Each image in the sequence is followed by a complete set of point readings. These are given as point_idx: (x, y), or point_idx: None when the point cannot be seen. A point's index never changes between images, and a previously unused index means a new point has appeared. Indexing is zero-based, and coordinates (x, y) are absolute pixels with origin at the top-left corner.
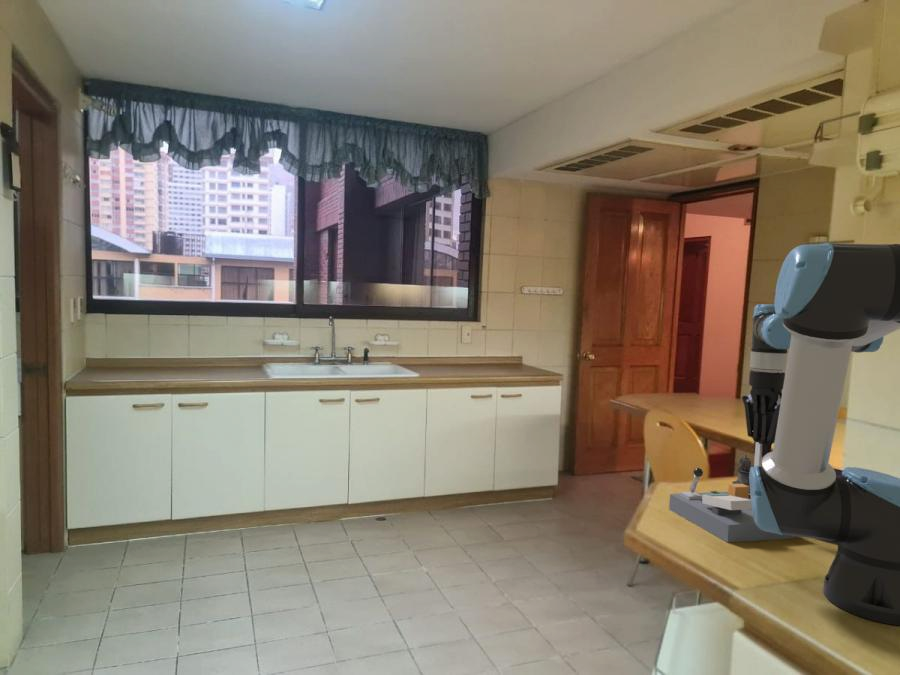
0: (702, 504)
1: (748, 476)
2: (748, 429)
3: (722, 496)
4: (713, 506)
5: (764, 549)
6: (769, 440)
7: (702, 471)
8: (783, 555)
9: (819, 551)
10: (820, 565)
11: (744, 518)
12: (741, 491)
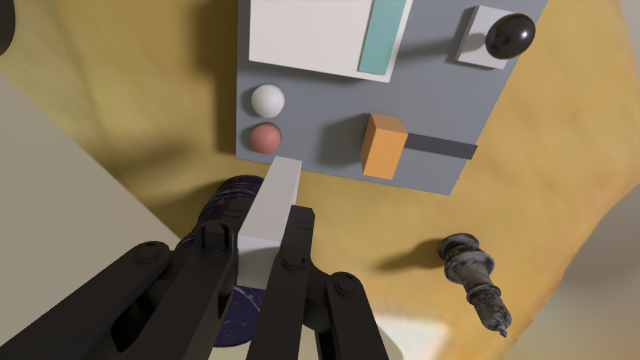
0: (418, 11)
1: (465, 285)
2: (358, 320)
3: (353, 27)
4: None
5: (201, 6)
6: (139, 252)
7: (492, 46)
8: (165, 21)
9: (182, 125)
10: (113, 56)
11: None
12: (368, 144)
